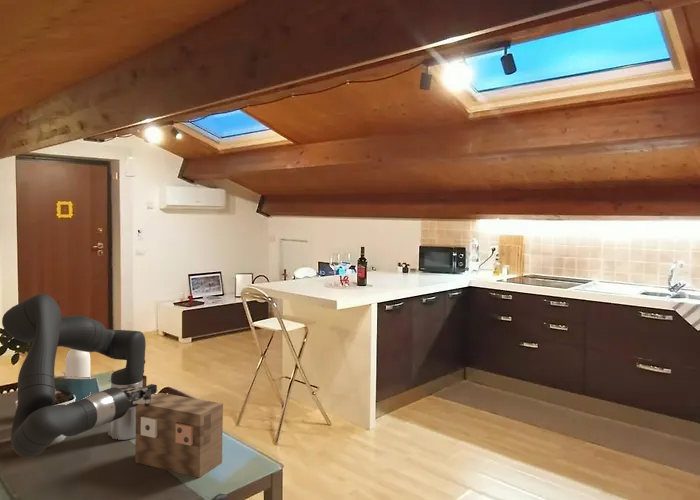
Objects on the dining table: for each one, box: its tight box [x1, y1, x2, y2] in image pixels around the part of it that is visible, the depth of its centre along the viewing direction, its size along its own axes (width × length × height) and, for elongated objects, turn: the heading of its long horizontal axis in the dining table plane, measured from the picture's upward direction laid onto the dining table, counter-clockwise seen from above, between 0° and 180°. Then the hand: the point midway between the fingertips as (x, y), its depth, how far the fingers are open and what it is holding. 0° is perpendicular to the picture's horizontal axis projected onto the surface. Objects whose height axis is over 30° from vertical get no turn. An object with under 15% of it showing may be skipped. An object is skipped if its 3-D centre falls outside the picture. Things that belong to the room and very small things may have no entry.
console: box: [134, 392, 224, 479], centre depth 151 cm, size 22×10×17 cm, turn 68°
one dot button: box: [141, 416, 158, 438], centre depth 150 cm, size 5×5×5 cm
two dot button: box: [175, 423, 194, 446], centre depth 145 cm, size 5×5×5 cm
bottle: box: [65, 348, 91, 378], centre depth 188 cm, size 8×8×30 cm
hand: (154, 388), depth 141 cm, fingers closed
